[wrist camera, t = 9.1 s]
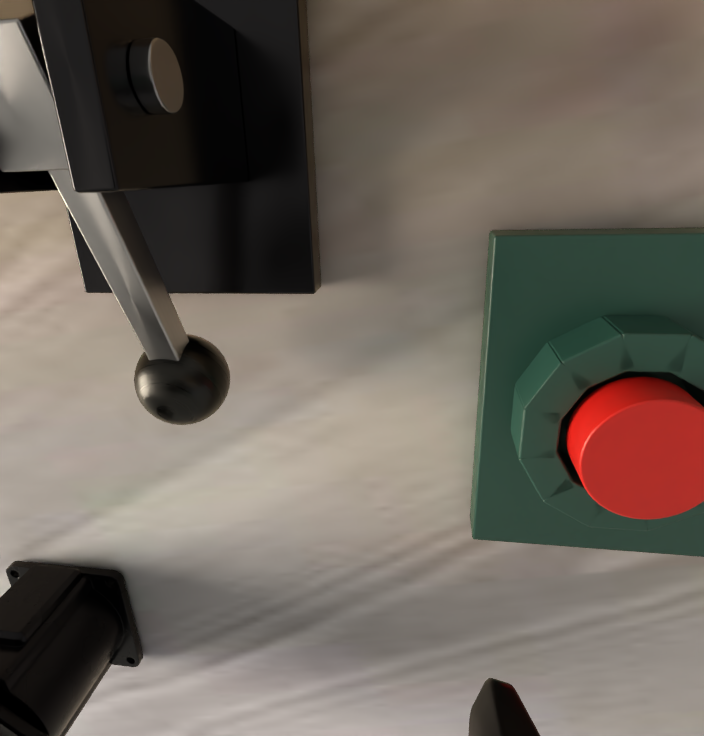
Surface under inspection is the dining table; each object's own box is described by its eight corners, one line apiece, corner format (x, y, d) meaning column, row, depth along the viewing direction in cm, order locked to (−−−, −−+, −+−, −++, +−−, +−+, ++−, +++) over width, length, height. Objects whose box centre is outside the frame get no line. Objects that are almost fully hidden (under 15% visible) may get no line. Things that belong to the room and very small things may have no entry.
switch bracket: (321, 287, 19) (238, 375, 11) (103, 286, 20) (-115, 365, 12) (300, -123, 15) (133, -487, 6) (23, -89, 16) (-402, -355, 8)
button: (686, 490, 16) (714, 525, 15) (557, 482, 17) (571, 516, 15) (714, 377, 15) (748, 402, 13) (573, 373, 16) (589, 397, 14)
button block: (697, 532, 20) (746, 600, 17) (469, 516, 22) (476, 577, 18) (780, 226, 16) (868, 241, 13) (489, 230, 17) (502, 244, 14)
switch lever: (249, 378, 20) (225, 445, 18) (173, 375, 20) (141, 440, 18) (112, -16, 11) (29, 21, 9) (-18, -3, 11) (-128, 34, 9)
